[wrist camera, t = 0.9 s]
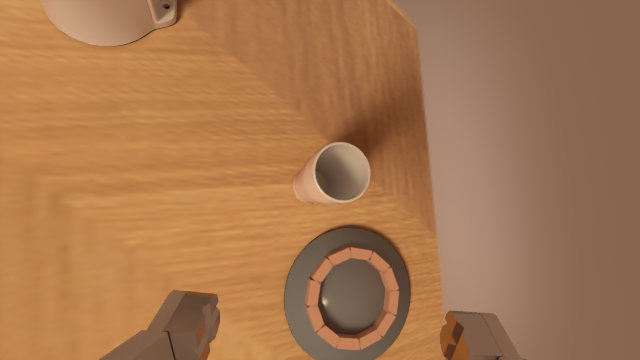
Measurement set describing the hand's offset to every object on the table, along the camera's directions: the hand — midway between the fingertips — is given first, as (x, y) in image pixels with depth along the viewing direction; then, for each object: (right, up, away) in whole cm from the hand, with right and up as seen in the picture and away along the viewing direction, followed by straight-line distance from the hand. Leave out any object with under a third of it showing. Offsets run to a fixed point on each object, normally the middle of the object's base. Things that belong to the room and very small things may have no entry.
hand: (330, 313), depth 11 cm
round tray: (+4, -13, +35) cm, 38 cm away
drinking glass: (-2, +4, +36) cm, 36 cm away
